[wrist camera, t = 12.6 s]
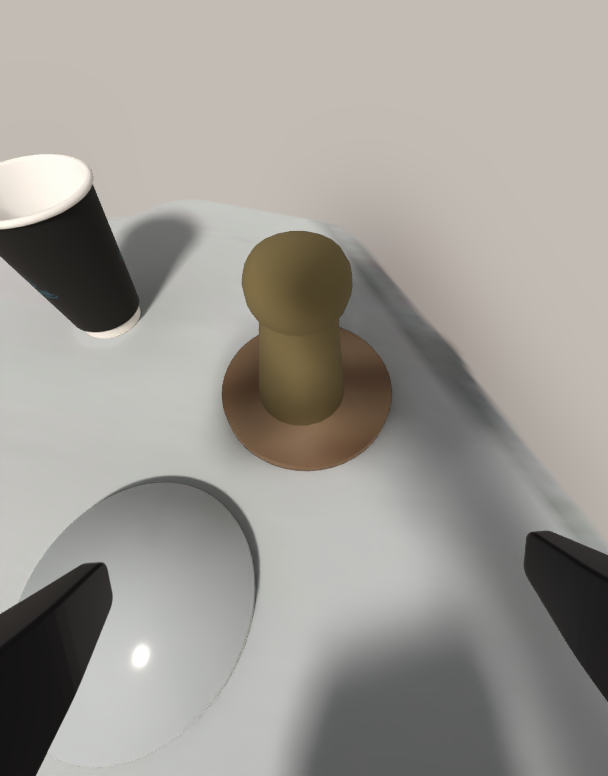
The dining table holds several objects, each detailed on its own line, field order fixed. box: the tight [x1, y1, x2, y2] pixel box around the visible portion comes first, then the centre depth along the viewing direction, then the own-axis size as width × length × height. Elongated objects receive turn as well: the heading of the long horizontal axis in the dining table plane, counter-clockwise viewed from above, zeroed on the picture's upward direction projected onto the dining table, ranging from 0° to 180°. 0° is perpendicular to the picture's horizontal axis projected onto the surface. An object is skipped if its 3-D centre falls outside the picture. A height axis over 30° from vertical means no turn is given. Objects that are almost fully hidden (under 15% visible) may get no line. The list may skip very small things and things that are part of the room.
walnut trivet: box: [222, 327, 392, 471], centre depth 24 cm, size 12×12×1 cm
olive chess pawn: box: [242, 231, 352, 426], centre depth 19 cm, size 6×6×11 cm
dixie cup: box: [0, 154, 141, 338], centre depth 25 cm, size 8×8×11 cm
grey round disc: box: [18, 482, 256, 768], centre depth 18 cm, size 12×12×1 cm
